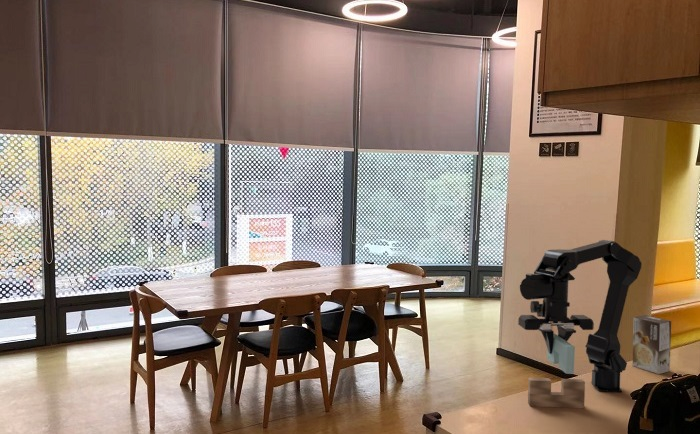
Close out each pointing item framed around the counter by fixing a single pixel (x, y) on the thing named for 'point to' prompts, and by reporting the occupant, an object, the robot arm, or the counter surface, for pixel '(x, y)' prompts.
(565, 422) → the counter surface
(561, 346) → the teal slotted plate
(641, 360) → the coffee box
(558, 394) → the walnut slotted plate
